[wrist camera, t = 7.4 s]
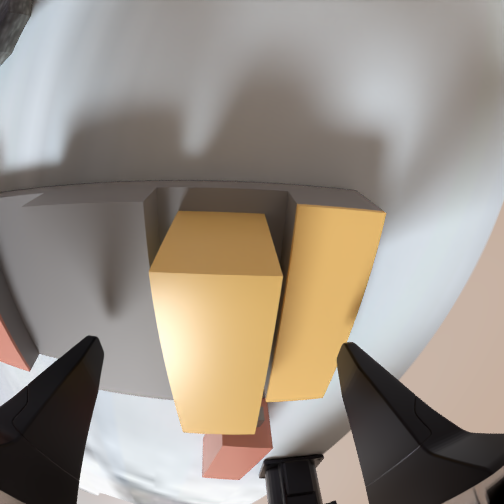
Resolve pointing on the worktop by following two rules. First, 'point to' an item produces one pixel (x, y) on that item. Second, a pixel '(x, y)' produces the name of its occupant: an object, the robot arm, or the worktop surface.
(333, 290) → the slot rack
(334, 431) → the worktop surface
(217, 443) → the brick plug
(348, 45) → the worktop surface
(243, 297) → the ochre plug
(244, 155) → the worktop surface
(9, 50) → the mortar and pestle
